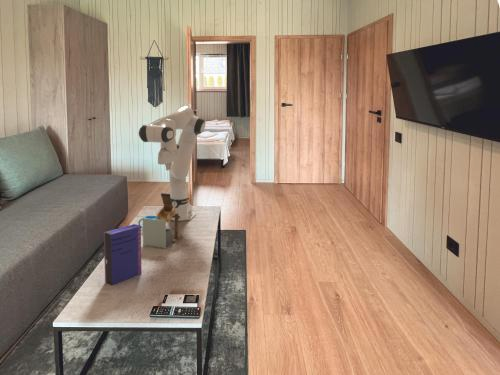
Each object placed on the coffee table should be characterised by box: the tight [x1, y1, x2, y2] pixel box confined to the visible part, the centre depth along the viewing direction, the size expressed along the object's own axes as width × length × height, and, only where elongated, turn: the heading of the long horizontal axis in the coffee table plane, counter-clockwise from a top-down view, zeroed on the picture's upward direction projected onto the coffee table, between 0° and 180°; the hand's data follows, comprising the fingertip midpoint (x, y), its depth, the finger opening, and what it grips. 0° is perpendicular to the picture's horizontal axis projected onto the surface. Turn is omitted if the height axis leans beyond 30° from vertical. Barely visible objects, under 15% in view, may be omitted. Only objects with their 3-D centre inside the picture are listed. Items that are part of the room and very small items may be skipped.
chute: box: [155, 193, 176, 224], centre depth 281 cm, size 10×9×15 cm
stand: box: [156, 212, 184, 244], centre depth 288 cm, size 10×14×16 cm
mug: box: [137, 215, 157, 230], centre depth 305 cm, size 12×8×8 cm
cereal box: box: [103, 223, 143, 286], centre depth 227 cm, size 17×5×24 cm, turn 144°
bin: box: [142, 217, 174, 250], centre depth 277 cm, size 11×14×16 cm
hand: (168, 170), depth 292 cm, fingers closed
